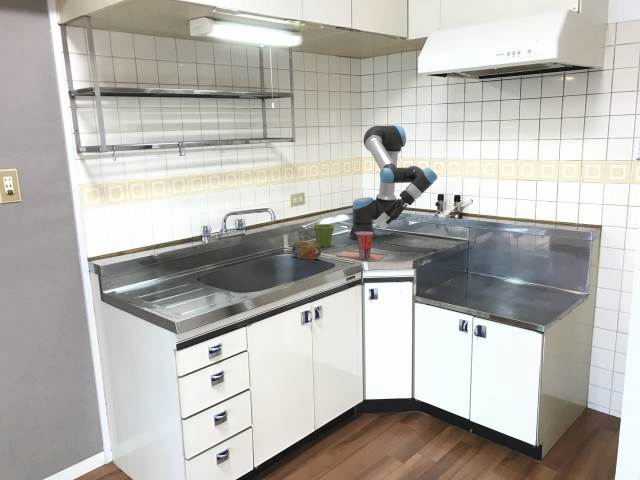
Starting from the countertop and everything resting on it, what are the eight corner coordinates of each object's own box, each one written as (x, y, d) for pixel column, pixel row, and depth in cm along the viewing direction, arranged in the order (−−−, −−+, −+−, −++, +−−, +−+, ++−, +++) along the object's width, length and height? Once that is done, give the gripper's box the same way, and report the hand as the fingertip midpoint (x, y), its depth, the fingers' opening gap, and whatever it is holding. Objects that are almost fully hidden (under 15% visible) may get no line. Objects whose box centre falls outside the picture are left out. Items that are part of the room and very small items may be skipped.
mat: (344, 252, 270) (344, 251, 270) (384, 256, 260) (384, 255, 260) (335, 256, 261) (335, 255, 261) (377, 260, 252) (377, 259, 252)
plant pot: (326, 249, 277) (326, 228, 275) (308, 246, 284) (308, 226, 282) (339, 245, 286) (339, 225, 284) (321, 243, 293) (321, 223, 291)
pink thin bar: (347, 250, 273) (347, 250, 273) (387, 255, 264) (387, 254, 264) (345, 251, 271) (345, 251, 271) (385, 256, 262) (385, 255, 262)
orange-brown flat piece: (292, 257, 259) (291, 240, 258) (295, 256, 262) (295, 239, 261) (319, 260, 253) (319, 243, 251) (322, 259, 255) (322, 242, 254)
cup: (373, 255, 260) (373, 231, 258) (373, 259, 252) (373, 234, 250) (354, 255, 261) (354, 231, 259) (354, 259, 253) (354, 234, 250)
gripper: (421, 203, 244) (388, 235, 247) (409, 197, 269) (380, 226, 271) (410, 192, 243) (377, 224, 245) (399, 186, 267) (369, 216, 270)
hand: (378, 225), depth 258 cm, fingers open, 13 cm apart
